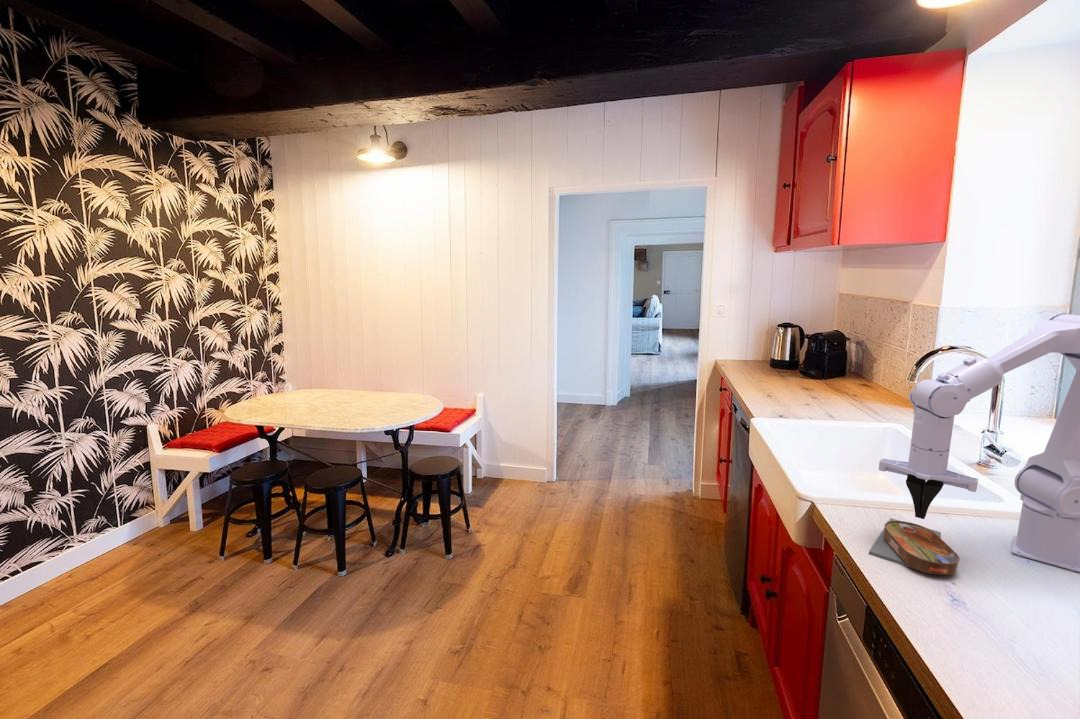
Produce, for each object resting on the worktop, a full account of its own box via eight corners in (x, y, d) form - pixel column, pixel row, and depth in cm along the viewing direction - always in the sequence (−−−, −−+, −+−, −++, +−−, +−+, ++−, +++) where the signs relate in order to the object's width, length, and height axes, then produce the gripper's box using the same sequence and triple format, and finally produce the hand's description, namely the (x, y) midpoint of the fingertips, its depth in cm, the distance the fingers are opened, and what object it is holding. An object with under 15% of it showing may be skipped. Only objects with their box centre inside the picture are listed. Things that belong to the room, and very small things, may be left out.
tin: (970, 566, 89) (914, 557, 90) (965, 583, 89) (910, 573, 91) (925, 523, 103) (877, 515, 105) (921, 537, 104) (874, 530, 105)
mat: (940, 534, 105) (940, 532, 105) (924, 571, 92) (924, 569, 92) (890, 520, 111) (890, 518, 111) (868, 553, 98) (869, 551, 98)
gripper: (878, 442, 98) (870, 511, 101) (979, 462, 88) (967, 537, 91) (887, 433, 103) (879, 499, 106) (983, 451, 93) (972, 523, 96)
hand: (920, 516), depth 99 cm, fingers closed
